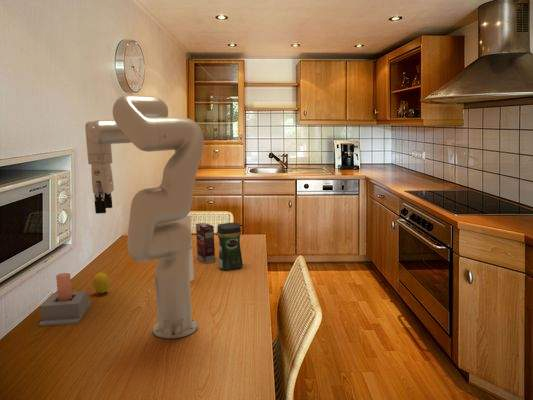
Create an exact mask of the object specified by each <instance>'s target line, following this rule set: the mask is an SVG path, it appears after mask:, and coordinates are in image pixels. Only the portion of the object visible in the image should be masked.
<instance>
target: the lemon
mask: <svg viewBox="0 0 533 400" xmlns="http://www.w3.org/2000/svg"><path fill="white" fill-rule="evenodd" d="M92 287H93V289H94V291H96V292H98V293H100V294H101V295H103V294H104V293H105V292H107V291H108V289H109V288H110V279H109V276H108V274H107V273H105V272H102V271H99V272H97V273H96V274H95V275H94V276H93V279H92Z"/></svg>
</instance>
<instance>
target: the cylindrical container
mask: <svg viewBox="0 0 533 400" xmlns="http://www.w3.org/2000/svg"><path fill="white" fill-rule="evenodd" d="M178 221H182V222H184V223H185V224H187V226H188V227H189V229H190V232H191V246H190V253H189V274H190V282H193V281H194V279H195V277H194V255H193V239H192V217H191V213H189V214H188V215H187V216H186V217H185V218H183V219H180V220H178Z"/></svg>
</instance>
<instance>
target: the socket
mask: <svg viewBox="0 0 533 400" xmlns="http://www.w3.org/2000/svg"><path fill="white" fill-rule="evenodd" d="M89 299H90V298H89V291H88V290H85V291H84V290H83V291H82V290H80V291H79V290H78V291H72V300H71V301H60V302H58V292H52V293H51V294H50V295H49V296H48V297H47V298H46V299H45V300H44V302H43V303H41V305H40V306H39V309H40V316H41V317H40V318H41V320H40V322H39V323H38V326H39V327H49V326H51V327H52V326H61V325H62V326H63V325H76V324H79V323H80V321H81V319H82V318H83V316H84V315H85V314H86V312H87V311H88V309H89V307H90V306H91V304H92V302H91V300H89Z"/></svg>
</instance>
